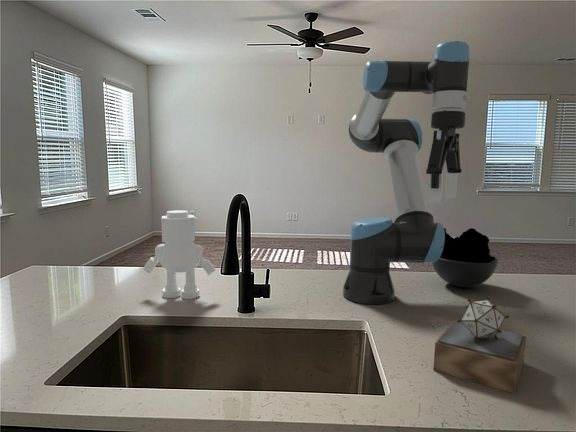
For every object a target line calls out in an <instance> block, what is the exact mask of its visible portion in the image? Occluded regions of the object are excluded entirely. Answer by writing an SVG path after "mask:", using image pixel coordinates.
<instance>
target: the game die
mask: <svg viewBox="0 0 576 432" xmlns="http://www.w3.org/2000/svg"><path fill="white" fill-rule="evenodd" d="M490 299H491V296H487V297H486V299H483V300H476V301H475V300H474V301H472V300H471V298H467V302H469V303H468V305H465V311H464V313H463V315H462V317H461V319H457V322H458V323H459V322H462V323H463V324H464V325H465V326H466V327H467V328H468V330H469V331H470V332H471V333H472V334H473V335H474V336H475V337H476V340H475V341H476V343H477V342H478V339H479V338H486V337H493V336H494V338H495V339H498V337H497V336H496V334H497V333H498V332H499V333H502V332H501V331H500V330H501V327H502V325H503V323H504V321H505V319H509V318H510V315H504V313H502V312H501V310H499V309H498V308H497V304H493V303H492V302H491V301H490Z"/></svg>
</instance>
